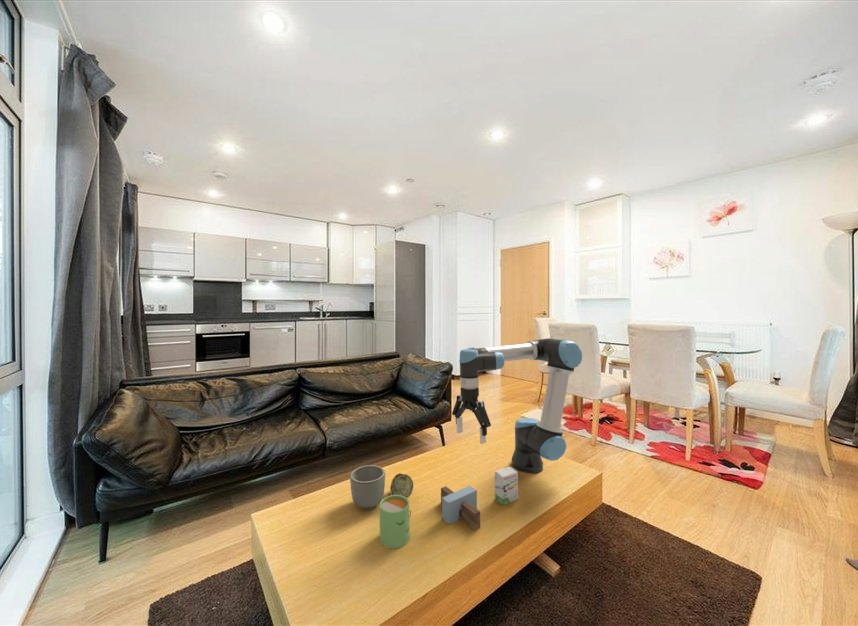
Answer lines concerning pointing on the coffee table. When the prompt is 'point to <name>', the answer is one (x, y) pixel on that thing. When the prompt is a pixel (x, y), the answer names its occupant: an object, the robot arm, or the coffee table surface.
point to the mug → (394, 521)
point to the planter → (367, 486)
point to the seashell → (401, 485)
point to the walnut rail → (465, 511)
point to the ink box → (506, 485)
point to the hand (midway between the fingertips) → (471, 437)
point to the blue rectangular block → (457, 503)
